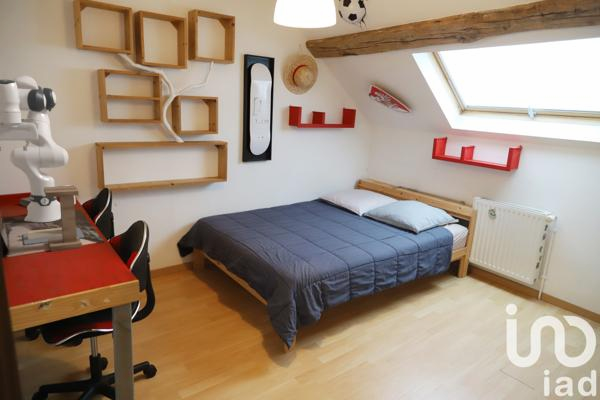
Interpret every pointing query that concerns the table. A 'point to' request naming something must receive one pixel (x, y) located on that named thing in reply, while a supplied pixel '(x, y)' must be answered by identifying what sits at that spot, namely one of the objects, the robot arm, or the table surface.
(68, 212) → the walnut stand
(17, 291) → the table surface
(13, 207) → the table surface
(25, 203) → the marble piece
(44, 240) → the rubber mat
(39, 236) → the ash bar
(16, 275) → the table surface
